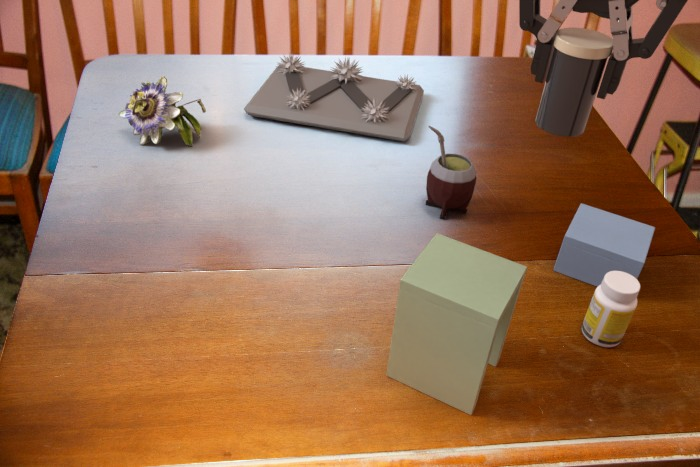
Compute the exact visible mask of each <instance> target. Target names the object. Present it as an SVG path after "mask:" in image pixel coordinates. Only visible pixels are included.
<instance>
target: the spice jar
mask: <svg viewBox="0 0 700 467" xmlns="http://www.w3.org/2000/svg"><path fill="white" fill-rule="evenodd" d="M553 44H554V47H555V48H554V51H553V55H552V59H551V63H550V67H549V70H548V74H547V78H546V79H545V81H544V85H543V89H542V93H541V98H540V101H539V103H538V104H539V105H538V108H537V112H536V116H535V120H534V121H535V124H536V126H537V127H538V128H539V129H541V130H542V131H543V132H546V133H548V134H551V135H554V136H558V137H565V138H572V137H579V136H580V135H583V134H584V132H585V131H586V128H587V126H588V125H587V124H588V121H589V118H590V115H591V112H592V108H593V106H594V103H595V100H596V97H597V94H598V91H599V88H600V85H601V81H602V78H603V75H604V72H605V69H606V66H607V63H608V59H609V58H610V56H611V54H612V53H613V40H612V37H611V36H609V35H607V34H605V33H604V32H601V31H599V30H598V31H597V30H594V29H590V28H584V27H563V28H559V30H558V31H557V32H556V35H555V39H554V43H553Z"/></svg>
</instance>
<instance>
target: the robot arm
mask: <svg viewBox="0 0 700 467" xmlns="http://www.w3.org/2000/svg"><path fill="white" fill-rule="evenodd" d="M518 1H519V2H518V3H519V7H518V8H519V10H518V11H519V12H518V13H519V14H518V15H519V17H518V18H519V19H518V21H519V28H520V29H521V30H522V31H525V32H529V33H530V34H532V35H533V36H534V37H535V39H536V44H535V48H534V52H533V56H532V60H531V61H532V62H531V65H530V74H531V75H534V76H535V77H534V82H536V83H540V84H543V83H545V81H546V78H547V74H548V70H549V67H550V63H551V59H552V55H553V51H554V48H555V47H554V44H553V43H554V39H555V35H556V32H557V31H558V30H560V29H561V27H562V25H563V24H564V23H565V21H566V20H567V18H568V17H569V16H570V14H571V13H572V12H576V13H580V14H589V13H591V14H593V15H595V16H597V17H600V18H601V19H602V18H603V19H607V20H609V26H610V34H611V36H612V37H611V38H612V40H613V51H612V54H611V56H609V57H608V59H607V62H606V65H605V68H604V71H603V74H602V78H601V81H600V84H599V87H598V90H597V93H596V98H597V99H601V100H605V99H606V97H607V96H608V95H614V94H615V93H616V91H617V90H618V88H619V86H620V83H621V81H622V78H623V75H624V71H625V69H626V66H627V62H628V61H629V60H631V59H635V58H636V59H638V58H641V59H643V60H647V59H650V58H651V57H652V56H653V55H654V53H655V52H656V50H657V48H658V47H659V46H660V44H661V43H662V41H663V40H664V38H665V36H666V35H667V33H668V32H669V30H670V28H671V27H672V25H673V24H674V22H675V21H676V19H677V18H678V16H679V15H680V13H681V12H682V10H683V9H684V7H685V6H686V4H687V3H688V1H689V0H656V2H655V5H656V7H657V9H659V10H661V11H660V12H659V13H658V15H657V17H656V18H655V20H654V22H652V25H651V27H650V28H649V29H648V31H647V33H646V34H645V35H644V37H640V38H634V33H633V32H634V31H633V24H634V16H633V15H634V14H633V13H634V12H633V7H634V5H636V4H637V3H638V2H639V1H640V0H559V1H558V2H557V3H556V5H555V7H554V8H553V10H552V11H551V13H550V14H549V16H548V17H547V18H546V17H544V16H542V15H541V0H518Z"/></svg>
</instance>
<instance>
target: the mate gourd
mask: <svg viewBox="0 0 700 467" xmlns="http://www.w3.org/2000/svg"><path fill="white" fill-rule="evenodd" d="M428 128H429V129H430V130H431V131H432V132H434V133H435V135H436V136H437V141H438V143H439V149H440V155H439V156H437V157H436V158H435V159H434V160H432V163H431V165H430V167H429V170H428V172H427V175H426V186H425V188H426V197H427V199H426V200H425V205H426V206H429V207H433V208H437V209H441V211H440V215H439V219H440V220H443V221H445V220H446V217H447V215H448V212H449V211H450V212H453V213H454V212H455V213H459V214H464V215H466V214H467V212H468V206H469V204H470V203H471V200H472V198H473V195H474V192H475V188H476V184H477V170H476V168H475V165H474V164H473V162H472V160H470V159H469V157H466V156H464V155H462V154H458V153H446V149H445V137H444V135H443V134H442V133H441V132H440V130H439V129H437V128H435V127H433V126H431V125H428Z"/></svg>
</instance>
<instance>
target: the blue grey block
mask: <svg viewBox="0 0 700 467" xmlns="http://www.w3.org/2000/svg"><path fill="white" fill-rule="evenodd" d="M655 230H656V227H655V226H652V225H649V224H647V223H643V222H640V221H637V220H634V219H631V218H628V217H625V216H622V215H619V214H615V213H613V212H610V211H608V210H607V211H606V210H604V209H601V208H598V207H594V206H592V205H588V204H585V203H580V204H579V206H578V208H577V209H576V213H575V214H574V215H573V218H572V220H571V222H570V224H569V226H568V228H567V230H566V232H565V234H564V237H563V240H562V242H561V246H560V248H559V251H558V254H557V257H556V261H555V263H554V266H553V271H554V272H555V273H559V274H561V275H564V276H567V277H570V278H572V279H575V280H577V281H581V282H583V283H586V284H589V285H591V286H594V287H596V288H597V287H598V286H599V285H601V283H602V281H603V278H604V276H605V275H606V273H608V272H610V271H622V272H626V273H628V274H630V275H632V276H633V277H635V278H636V279H637V280H638V279H639V277H640V274H641V272H642V270H643V267H644V265H645V263H646V260H647V256H648V252H649V250H650V246H651V243H652V240H653V236H654V233H655Z"/></svg>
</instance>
